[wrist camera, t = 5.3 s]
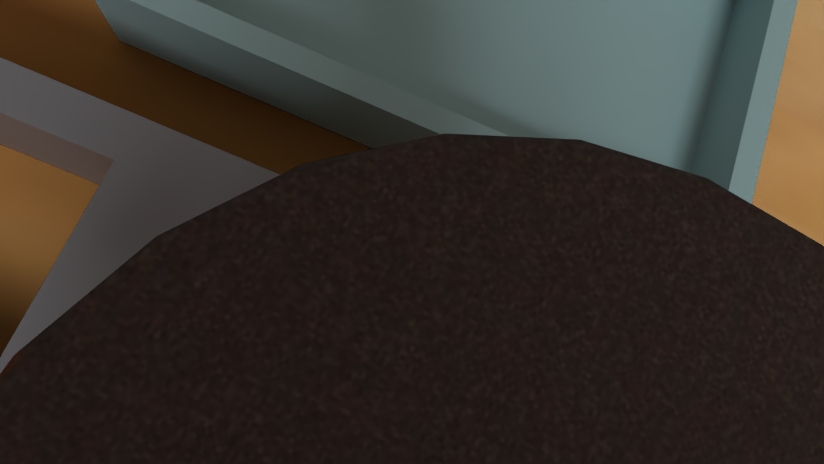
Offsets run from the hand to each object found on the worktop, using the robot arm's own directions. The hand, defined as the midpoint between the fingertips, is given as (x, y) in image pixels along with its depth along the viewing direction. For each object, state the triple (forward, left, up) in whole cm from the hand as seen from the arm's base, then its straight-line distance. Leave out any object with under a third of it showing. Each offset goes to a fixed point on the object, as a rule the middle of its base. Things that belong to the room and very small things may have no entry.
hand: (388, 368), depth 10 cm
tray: (+7, +10, -7) cm, 15 cm away
